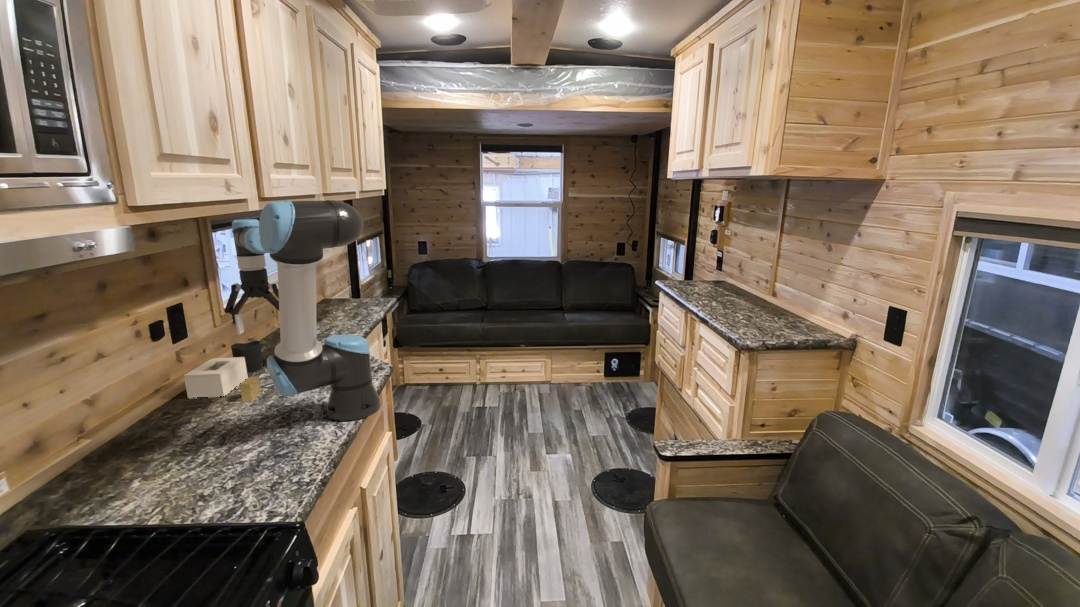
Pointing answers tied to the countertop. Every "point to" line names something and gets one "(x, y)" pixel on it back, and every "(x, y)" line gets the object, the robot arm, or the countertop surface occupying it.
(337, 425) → the countertop surface
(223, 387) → the box
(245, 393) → the block
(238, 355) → the pen holder
